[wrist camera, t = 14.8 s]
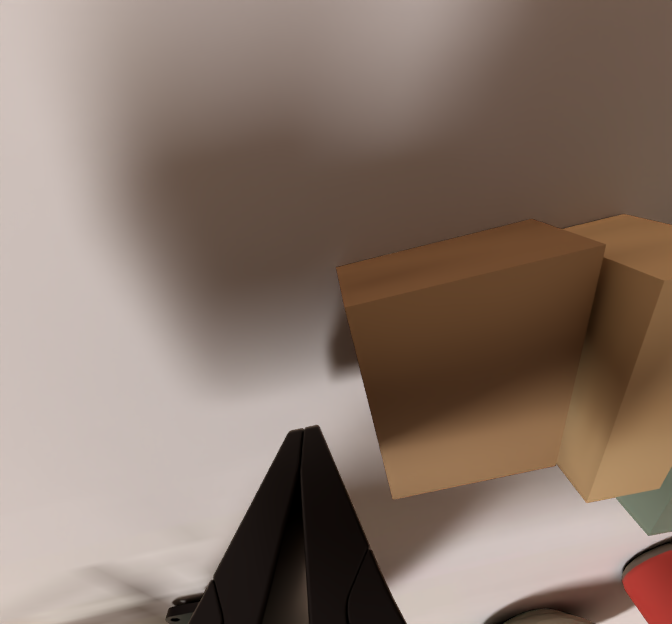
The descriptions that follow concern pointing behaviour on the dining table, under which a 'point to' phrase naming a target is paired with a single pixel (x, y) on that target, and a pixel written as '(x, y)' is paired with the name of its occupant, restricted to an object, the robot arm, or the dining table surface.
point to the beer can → (651, 584)
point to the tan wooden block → (471, 350)
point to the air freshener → (547, 618)
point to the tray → (651, 507)
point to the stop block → (624, 366)
